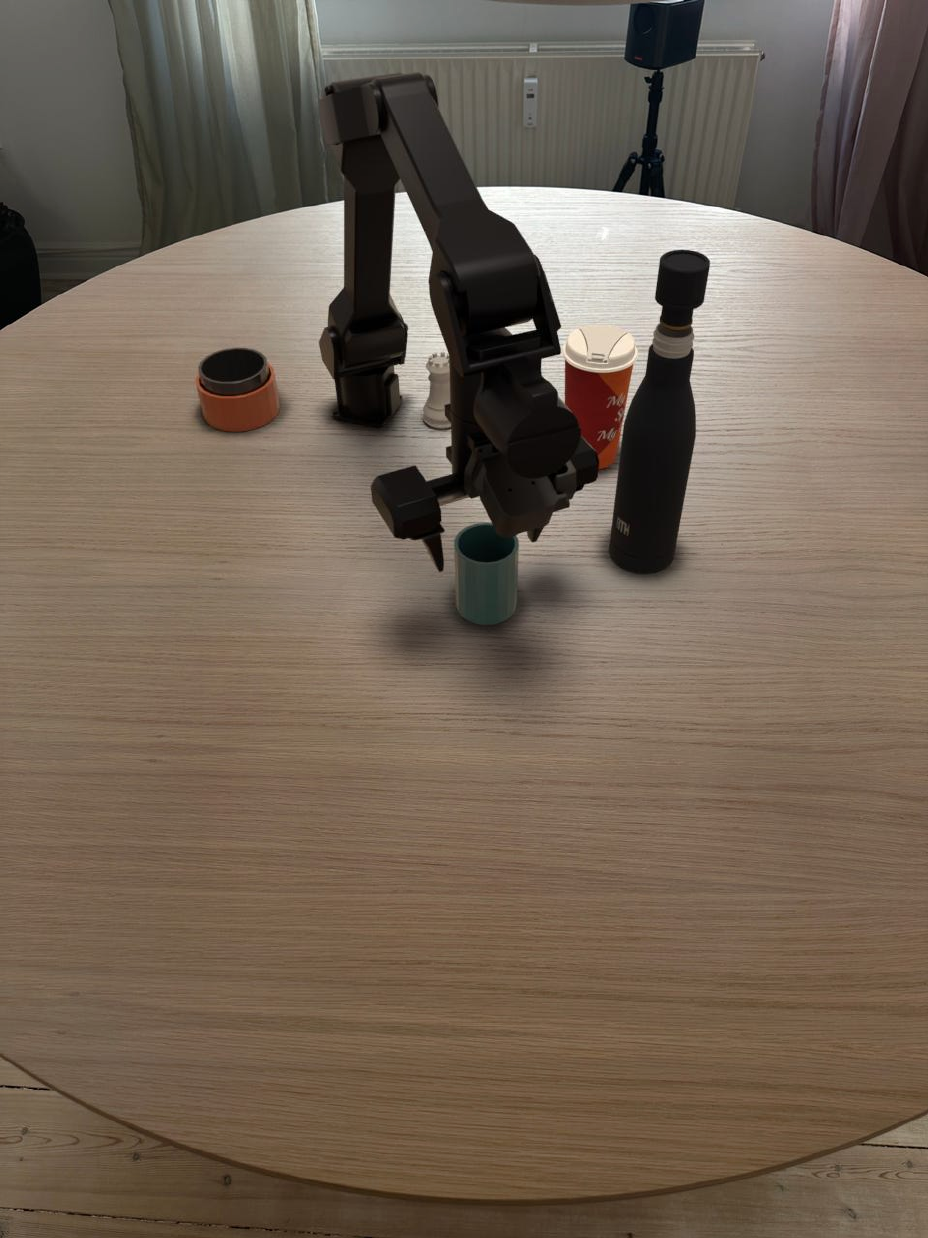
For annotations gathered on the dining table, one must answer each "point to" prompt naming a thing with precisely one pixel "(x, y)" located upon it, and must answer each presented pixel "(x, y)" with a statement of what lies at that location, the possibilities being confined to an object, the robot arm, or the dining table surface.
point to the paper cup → (599, 384)
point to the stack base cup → (241, 407)
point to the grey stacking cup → (234, 372)
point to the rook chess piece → (438, 391)
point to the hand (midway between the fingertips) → (486, 553)
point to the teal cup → (485, 574)
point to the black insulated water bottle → (660, 425)
